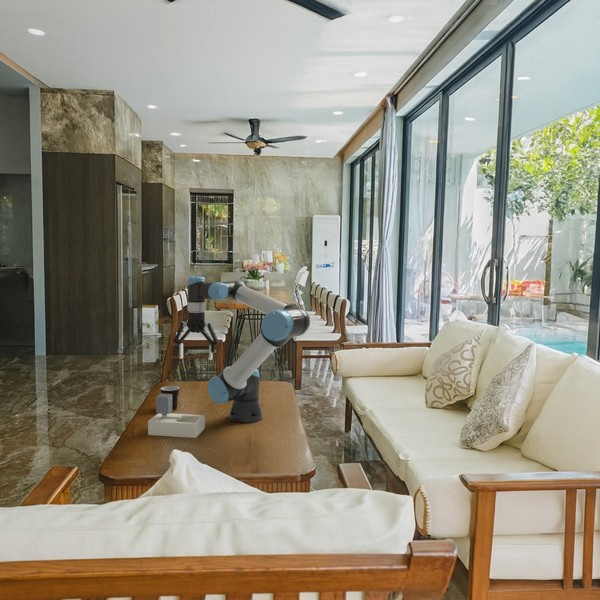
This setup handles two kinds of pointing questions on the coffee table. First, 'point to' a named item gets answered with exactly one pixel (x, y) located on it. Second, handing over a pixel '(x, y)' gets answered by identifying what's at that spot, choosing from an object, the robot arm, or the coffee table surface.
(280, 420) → the coffee table surface
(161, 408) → the t peg
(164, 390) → the coffee mug
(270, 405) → the coffee table surface
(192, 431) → the white stepped recess tray
